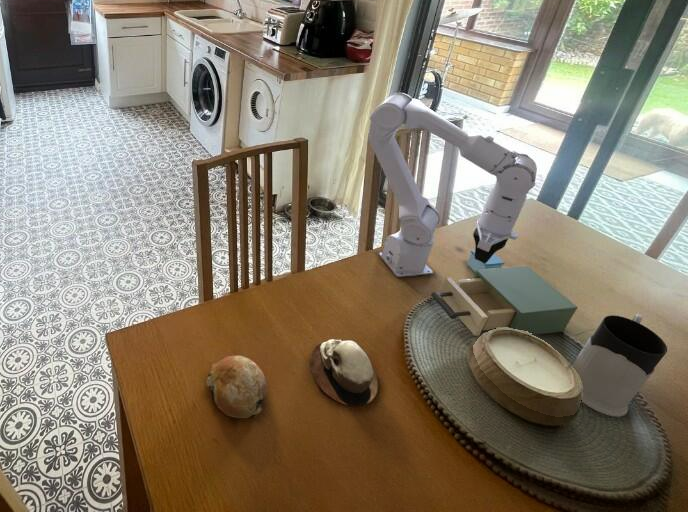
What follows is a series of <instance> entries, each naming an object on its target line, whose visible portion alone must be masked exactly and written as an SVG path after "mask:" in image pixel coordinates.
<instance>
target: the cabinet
mask: <svg viewBox="0 0 688 512" xmlns="http://www.w3.org/2000/svg"><path fill="white" fill-rule="evenodd" d="M474 272H475V271H474ZM475 278H481V279H482V280H483V281H484V282H485V283H486V284H488V285H489V286H490V287H491V288H492V289H493V290H494V291H495V292H496V293H497V294H498V295H499V296H500V297H501V298H502V299H503V300H504V301H505V302H506V303H507V304H508V305H509V306H510V307H511V308H513V309H514V310H515V311H516V312H517V314H516V316H515V317H514V319H513V321H512V323H511V325H510V327H509V328H513V329H518V330H524V331H528V332H529V333H532V334H534V335H533V336H536V335H543V334H552V333H560V332H564V331H565V329H566V328H567V326H568V324H569V323H570V321H571V320H572V318H573V316H574V314H575V313H576V311H577V310H578V307H579V306H577V305H576V304H574V303H573V302H572V301H571V300H570V299H569V298H567V297H566V296H565V295H564V294H562V293H561V292H560V291H558V289H556V288H555V287H554V286H553V285H551V284H550V283H549V282H548V281H547V280H546V279H544V278H543V277H542V276H541V275H540V274H538V273H537V272H536V271H534V270H533V269H532V268H531V267H530V266H528V265H517V266H506V267H505V266H504V267H501V268H493V269H483V270H476V272H475V273H474V274H473V277H472V279H475Z"/></svg>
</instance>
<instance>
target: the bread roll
mask: <svg viewBox="0 0 688 512" xmlns="http://www.w3.org/2000/svg"><path fill="white" fill-rule="evenodd" d="M267 385H268V384H267V380H266V377H265V374H264V372H263V371H262V369H261V368H260V366H259V365H258V364H257V363H255V362H254V361H253V360H252V359H250V358H248V357H246V356H243V355H228V356H225V357H222V358H221V359H220V360H219V361H217V362H215V363H213V364H212V367H211V369H210V370H209V373H208V375H207V378H206V386H207V388H210V390H209V394H210V395H211V396H212V397H213V401H214V403H215V405H216V406H217V408H218V409H219V410H220V411H221V412H222V413H223V414H225V415H226V416H228V417H231V418H234V419H235V418H237V419H248V418H250V417H252V416H257V415H258V414H259V413H261V411H262V407H261V406H262V403H263V402H264V400H265V398H266V395H267V391H268V389H267V387H268V386H267Z"/></svg>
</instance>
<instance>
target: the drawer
mask: <svg viewBox="0 0 688 512" xmlns="http://www.w3.org/2000/svg"><path fill="white" fill-rule="evenodd" d="M431 297H432V298H433V300H434V301H436V303H437V304H438V305H439V306H440V307H441V309H442V310H443V311H444V312H445V313H446V315H447V316H448V317H449V318H450V320H455V319H457V318H458V319H459V320H460V321H461V322H462V323H463V324H464V325H465V327H466V328H467V329H468V331H470V333H472V334H473V336H480V335H481V333H482V331H491V330H490V329H492V330H494V329H493V328H497V327H510V325H511V323H512V321H513V319H514V317H515V316H516V314H517V312H516V311H515V310H514V309H513V308H511V307H510V306H509V305H508V304H507V303H506V302H505V301H504V300H503V299H502V298H501V297H500V296H499V295H498V294H497V293H496V292H495V291H494V290H493V289H492V288H491V287H490V286H489V285H488V284H486V283H485V282H484V281H483V280H482V279H481V278H475V279H473V278H465V279H457V282H455V281H454V280H453V278H452V277H446V278H445V279H444V282H443V284H442V287H441V289H440V291H439V292H438V291H433V292H431Z"/></svg>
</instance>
